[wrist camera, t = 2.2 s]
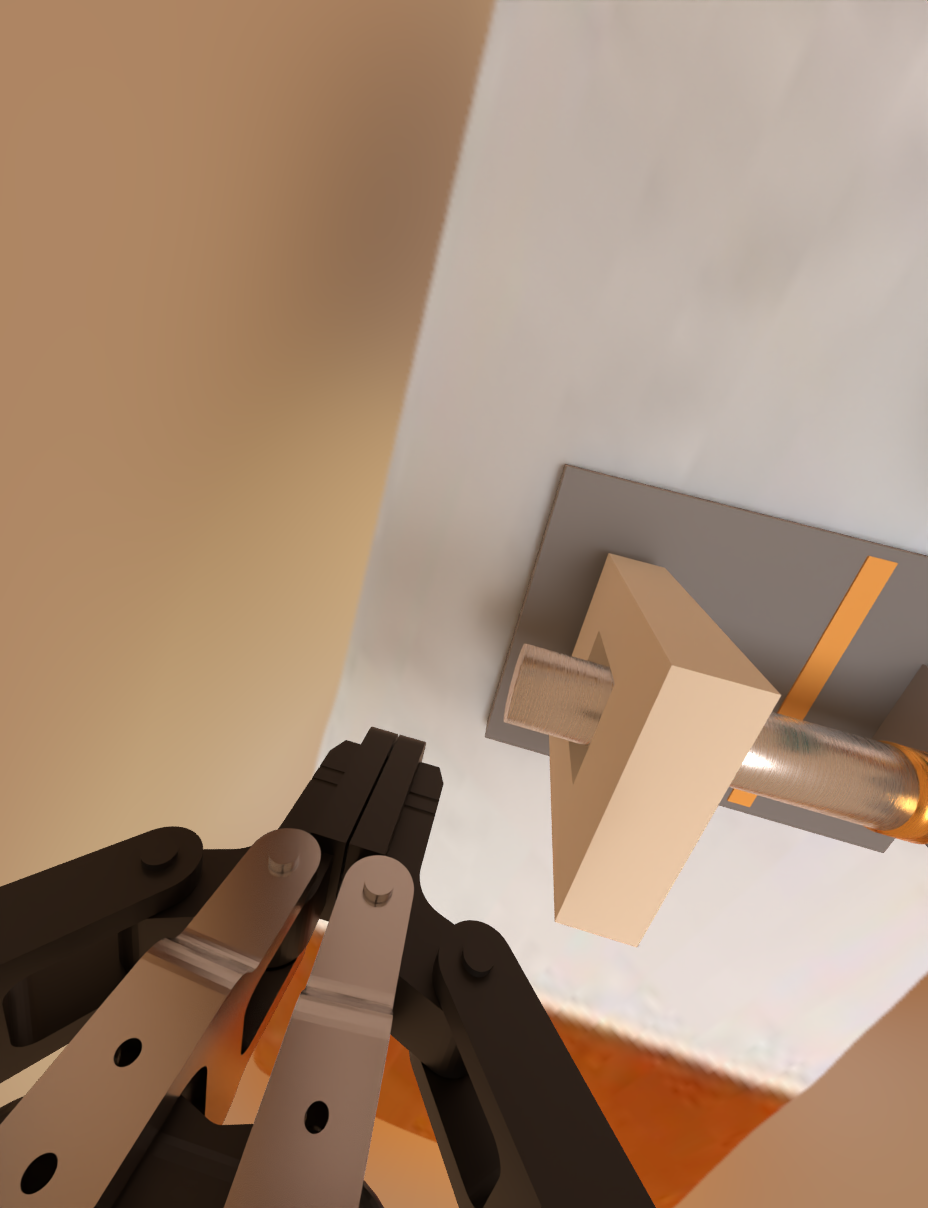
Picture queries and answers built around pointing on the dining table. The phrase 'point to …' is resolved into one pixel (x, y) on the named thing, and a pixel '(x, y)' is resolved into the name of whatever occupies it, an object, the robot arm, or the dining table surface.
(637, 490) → the mount board
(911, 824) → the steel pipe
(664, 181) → the dining table surface
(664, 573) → the beige rectangular block
